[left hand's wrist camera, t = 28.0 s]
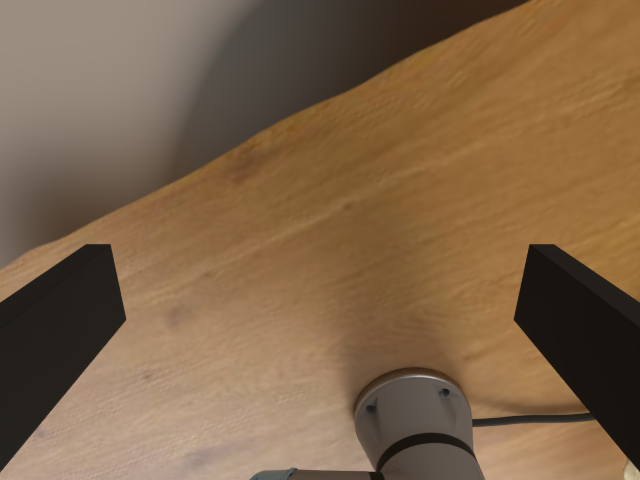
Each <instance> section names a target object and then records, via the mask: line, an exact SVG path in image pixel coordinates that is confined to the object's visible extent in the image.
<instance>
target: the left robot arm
mask: <svg viewBox="0 0 640 480" xmlns="http://www.w3.org/2000/svg"><path fill="white" fill-rule="evenodd" d="M125 321H126V316H125V311H124V306H123V301H122V297H121V292H120V287H119V282H118V278H117V273H116V268H115V263H114V259H113V254H112V249H111V244H86V245H84V246H83V247H81V248H80V249H78V250H77V251H75V252H74V253H73V254H71V255H70V256H68V257H67V258H65V259H64V260H62V261H61V262H59V263H58V264H56V265H55V266H53V267H52V268H50V269H49V270H48V271H46V272H45V273H43V274H42V275H40V276H39V277H37V278H36V279H34V280H33V281H31V282H30V283H28V284H27V285H25V286H24V287H23V288H21V289H20V290H18V291H17V292H15V293H14V294H12V295H11V296H9V297H8V298H6V299H5V300H3V301H2V302H0V472H1V471H2V470H3V468H4V467H5V466H6V465H7V464H8V462H9V461H10V460H11V459H12V458H13V456H14V455H15V454H16V453H17V451H18V450H19V449H20V448H21V447H22V445H23V444H24V443H25V442H26V441H27V439H28V438H29V437H30V436H31V435H32V433H33V432H34V431H35V430H36V428H37V427H38V426H39V425H40V424H41V422H42V421H43V420H44V419H45V418H46V416H47V415H48V414H49V413H50V412H51V410H52V409H53V408H54V407H55V405H56V404H57V403H58V402H59V401H60V399H61V398H62V397H63V396H64V395H65V393H66V392H67V391H68V390H69V389H70V387H71V386H72V385H73V384H74V382H75V381H76V380H77V379H78V378H79V376H80V375H81V374H82V373H83V372H84V370H85V369H86V368H87V367H88V366H89V364H90V363H91V362H92V361H93V359H94V358H95V357H96V356H97V355H98V353H99V352H100V351H101V350H102V349H103V347H104V346H105V345H106V344H107V343H108V341H109V340H110V339H111V338H112V336H113V335H114V334H115V333H116V332H117V330H118V329H119V328H120V327H121V326H122V324H123V323H124V322H125ZM514 321H515V322H516V323H517V324H518V326H519V327H520V328H521V329H522V330H523V332H524V333H525V334H526V335H527V336H528V338H529V339H530V340H531V341H532V343H533V344H534V345H535V346H536V347H537V349H538V350H539V351H540V352H541V353H542V355H543V356H544V357H545V358H546V359H547V361H548V362H549V363H550V364H551V366H552V367H553V368H554V369H555V370H556V372H557V373H558V374H559V375H560V376H561V378H562V379H563V380H564V381H565V382H566V384H567V385H568V386H569V387H570V389H571V390H572V391H573V392H574V393H575V395H576V396H577V397H578V398H579V399H580V401H581V402H582V403H583V404H584V405H585V407H586V408H587V409H588V410H589V412H590V413H584V414H573V415H527V416H511V417H501V418H488V419H472V415H471V409H470V405H469V403H468V401H467V399H466V397H465V394H464V392H463V391H462V389H461V388H460V386H459V385H458V384H457V383H456V382H455V381H454V380H453V379H451V378H450V377H448V376H447V375H445V374H443V373H440V372H438V371H435V370H431V369H425V368H405V369H400V370H396V371H392V372H390V373H387V374H385V375H383V376H381V377H379V378H377V379H376V380H374V381H373V382H372V383H370V384H369V385H368V386H367V387H366V388H365V389H364V391H363V392H362V393H361V395H360V396H359V398H358V400H357V403H356V406H355V411H354V419H355V428H356V433H357V436H358V439H359V441H360V443H361V445H362V447H363V449H364V451H365V453H366V455H367V457H368V459H369V460H370V462H371V464H372V466H373V468H374V470H375V472H367V471H319V470H298V469H297V468H291V469H289V470H273V471H261V472H259V473H257V474H255V475H254V476H253V477H252V478H251V479H250V480H485V478H484V476H483V473H482V471H481V469H480V466H479V464H478V462H477V459H476V457H475V454H474V451H473V431H472V427H484V426H498V425H508V424H519V423H567V422H582V421H591V420H597V421H598V422H599V424H600V425H601V426H602V427H603V428H604V430H605V431H606V432H607V433H608V435H609V436H610V437H611V438H612V439H613V441H614V442H615V443H616V444H617V445H618V447H619V448H620V449H621V450H622V451H623V453H624V454H625V455H626V456H627V458H628V459H629V460H630V461H631V462H632V464H633V465H634V466H635V467H636V468H637V470H638V471H639V472H640V302H638V301H637V300H635V299H634V298H632V297H631V296H629V295H628V294H626V293H625V292H623V291H622V290H620V289H619V288H617V287H616V286H615V285H613V284H612V283H610V282H609V281H607V280H606V279H604V278H603V277H601V276H600V275H598V274H597V273H595V272H594V271H592V270H591V269H590V268H588V267H587V266H585V265H584V264H582V263H581V262H579V261H578V260H576V259H575V258H573V257H572V256H570V255H569V254H567V253H566V252H565V251H563V250H562V249H560V248H559V247H557V246H556V245H554V244H529V249H528V254H527V259H526V263H525V268H524V273H523V278H522V282H521V287H520V292H519V297H518V301H517V306H516V311H515V316H514Z"/></svg>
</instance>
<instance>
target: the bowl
mask: <svg viewBox="0 0 640 480" xmlns="http://www.w3.org/2000/svg"><path fill="white" fill-rule="evenodd" d="M623 476H624V480H640V472H639V471H638V470H637V468H636V467H635V466H634V465H633V464H632V462H631V461H630V460H629V459H627V461H626V463H625V466H624V469H623Z"/></svg>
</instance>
